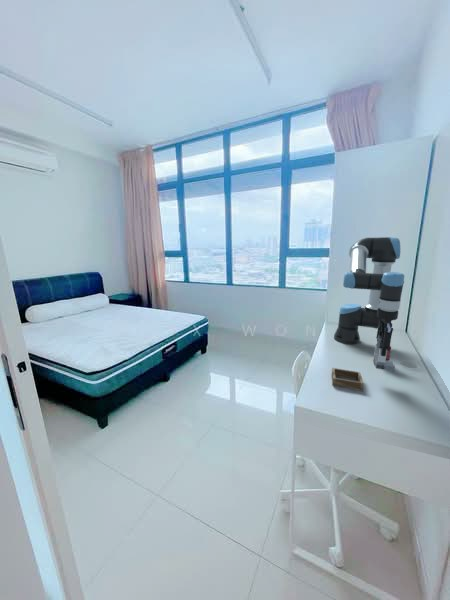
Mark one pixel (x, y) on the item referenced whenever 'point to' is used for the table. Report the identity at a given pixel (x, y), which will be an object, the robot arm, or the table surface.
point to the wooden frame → (347, 379)
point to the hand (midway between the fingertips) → (379, 358)
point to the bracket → (381, 365)
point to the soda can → (386, 355)
